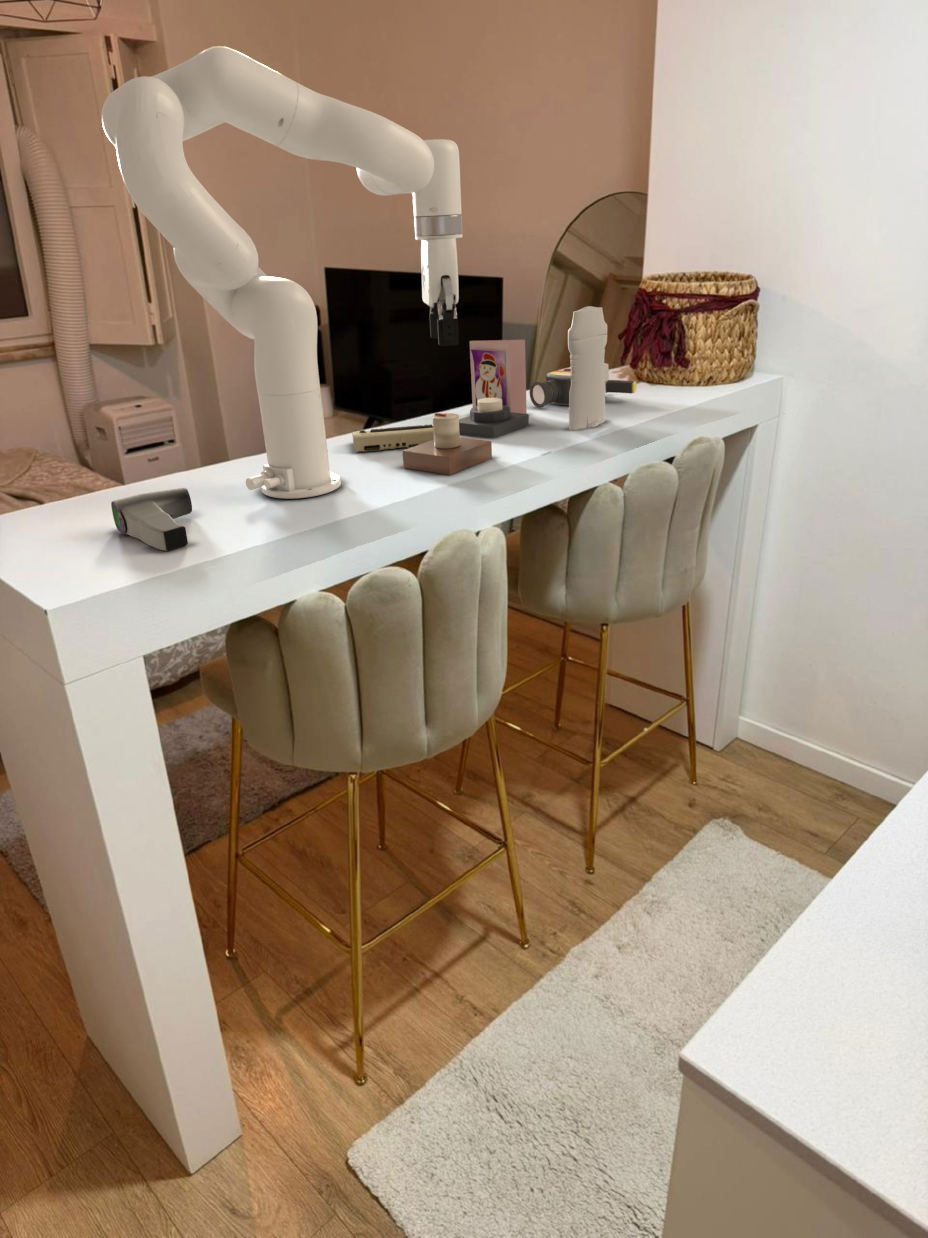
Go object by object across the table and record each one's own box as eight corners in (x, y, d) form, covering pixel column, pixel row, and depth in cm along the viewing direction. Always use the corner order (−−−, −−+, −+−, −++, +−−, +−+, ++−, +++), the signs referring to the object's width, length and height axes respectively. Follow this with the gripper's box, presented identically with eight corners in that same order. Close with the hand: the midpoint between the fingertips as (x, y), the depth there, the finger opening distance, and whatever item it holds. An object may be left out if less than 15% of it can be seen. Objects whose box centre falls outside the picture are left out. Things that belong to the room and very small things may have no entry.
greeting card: (469, 415, 186) (466, 341, 180) (495, 409, 190) (492, 336, 184) (508, 422, 178) (506, 345, 172) (533, 415, 183) (532, 340, 176)
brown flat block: (450, 475, 145) (449, 457, 144) (403, 467, 151) (402, 450, 149) (492, 458, 153) (491, 440, 152) (446, 451, 159) (445, 435, 158)
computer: (434, 436, 170) (433, 418, 169) (440, 445, 163) (439, 428, 162) (353, 443, 169) (351, 425, 167) (355, 453, 161) (353, 435, 160)
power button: (493, 414, 169) (492, 403, 168) (472, 411, 172) (472, 401, 171) (507, 409, 172) (506, 398, 172) (487, 407, 175) (486, 396, 174)
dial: (465, 443, 151) (463, 412, 149) (449, 449, 148) (447, 417, 146) (445, 441, 154) (443, 410, 151) (429, 446, 150) (427, 415, 148)
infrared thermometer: (159, 560, 117) (109, 530, 127) (239, 535, 125) (186, 509, 134) (154, 527, 115) (102, 499, 125) (235, 504, 123) (181, 480, 132)
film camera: (574, 420, 181) (528, 408, 192) (642, 400, 190) (594, 390, 201) (574, 386, 178) (526, 375, 189) (642, 367, 187) (593, 359, 198)
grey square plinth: (494, 438, 167) (493, 417, 165) (452, 433, 172) (450, 412, 170) (528, 425, 175) (528, 404, 173) (487, 420, 181) (486, 400, 179)
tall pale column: (576, 431, 168) (577, 309, 159) (560, 429, 171) (560, 308, 162) (613, 421, 174) (615, 303, 165) (597, 419, 177) (598, 302, 168)
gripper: (408, 229, 147) (415, 336, 154) (421, 230, 131) (428, 349, 138) (453, 227, 148) (458, 333, 155) (471, 227, 132) (475, 346, 139)
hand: (444, 341), depth 147 cm, fingers open, 9 cm apart
